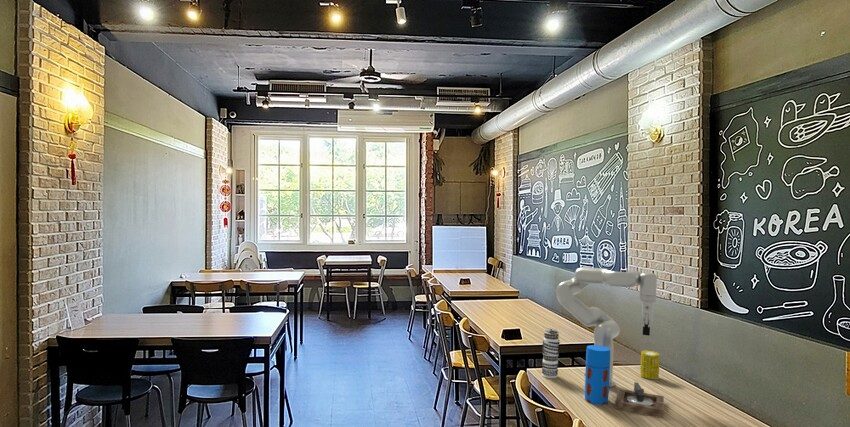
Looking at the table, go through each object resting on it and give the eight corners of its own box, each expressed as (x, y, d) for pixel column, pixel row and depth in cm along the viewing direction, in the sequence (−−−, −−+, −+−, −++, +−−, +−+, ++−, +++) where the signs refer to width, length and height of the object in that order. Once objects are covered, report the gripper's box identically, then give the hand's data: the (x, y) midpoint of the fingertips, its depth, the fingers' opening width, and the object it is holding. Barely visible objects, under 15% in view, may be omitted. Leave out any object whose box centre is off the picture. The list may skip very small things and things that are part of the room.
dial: (656, 408, 244) (656, 394, 244) (629, 406, 246) (629, 392, 246) (648, 396, 259) (648, 383, 259) (622, 394, 261) (623, 381, 261)
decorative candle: (561, 375, 292) (563, 329, 291) (553, 379, 285) (555, 332, 284) (546, 371, 298) (548, 326, 297) (537, 375, 291) (539, 329, 290)
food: (657, 378, 297) (656, 385, 288) (635, 370, 302) (633, 376, 293) (665, 353, 295) (664, 358, 286) (643, 345, 300) (641, 350, 291)
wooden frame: (615, 409, 245) (615, 401, 245) (618, 395, 264) (618, 388, 264) (663, 417, 237) (663, 410, 237) (663, 402, 256) (663, 395, 256)
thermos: (596, 406, 248) (598, 352, 248) (579, 398, 258) (581, 346, 257) (613, 402, 253) (615, 349, 253) (596, 395, 263) (598, 344, 262)
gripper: (655, 301, 259) (654, 339, 260) (656, 296, 273) (654, 332, 273) (638, 299, 262) (637, 337, 263) (640, 295, 276) (638, 330, 276)
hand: (646, 334), depth 268 cm, fingers closed
